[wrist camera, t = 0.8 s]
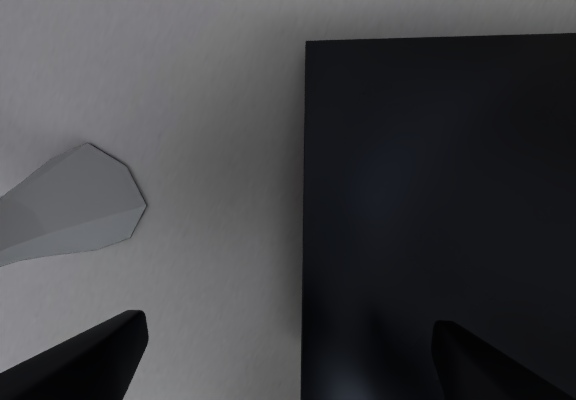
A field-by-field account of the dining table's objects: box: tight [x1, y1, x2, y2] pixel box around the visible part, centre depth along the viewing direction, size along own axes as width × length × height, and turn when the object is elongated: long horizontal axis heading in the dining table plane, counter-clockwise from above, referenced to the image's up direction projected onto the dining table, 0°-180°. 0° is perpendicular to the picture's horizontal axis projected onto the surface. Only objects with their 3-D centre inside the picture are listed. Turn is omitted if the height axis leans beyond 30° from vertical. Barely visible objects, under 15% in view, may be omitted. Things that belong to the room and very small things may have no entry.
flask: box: [0, 143, 146, 267], centre depth 17 cm, size 7×7×10 cm
